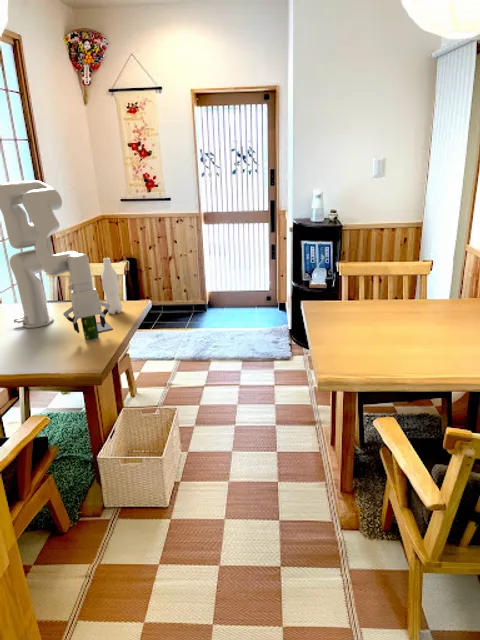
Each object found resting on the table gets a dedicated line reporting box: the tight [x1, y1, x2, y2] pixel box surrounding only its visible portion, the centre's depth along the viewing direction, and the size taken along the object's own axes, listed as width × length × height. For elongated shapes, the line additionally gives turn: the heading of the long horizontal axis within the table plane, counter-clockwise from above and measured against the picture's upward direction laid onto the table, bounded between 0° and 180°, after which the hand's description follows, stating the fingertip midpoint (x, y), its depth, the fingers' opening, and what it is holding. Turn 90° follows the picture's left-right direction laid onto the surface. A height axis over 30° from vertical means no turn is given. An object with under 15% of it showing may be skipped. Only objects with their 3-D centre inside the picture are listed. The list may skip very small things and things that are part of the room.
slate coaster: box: [97, 321, 114, 334], centre depth 192 cm, size 9×9×1 cm
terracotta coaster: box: [80, 314, 107, 324], centre depth 201 cm, size 9×9×1 cm
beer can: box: [80, 315, 100, 342], centre depth 180 cm, size 5×5×12 cm
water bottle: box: [100, 257, 123, 315], centre depth 207 cm, size 7×7×25 cm
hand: (90, 329), depth 180 cm, fingers open, 9 cm apart
